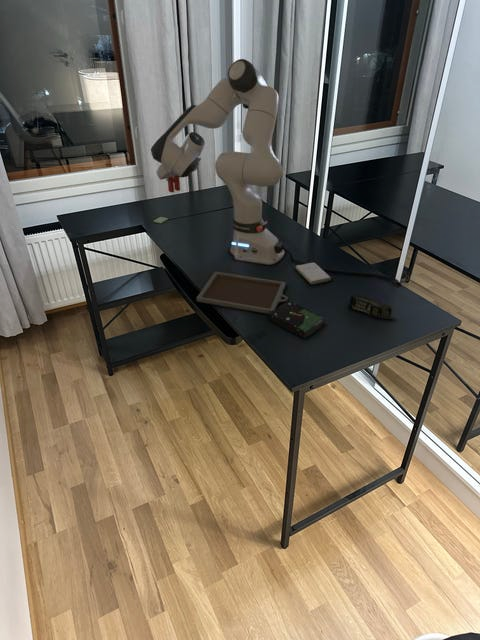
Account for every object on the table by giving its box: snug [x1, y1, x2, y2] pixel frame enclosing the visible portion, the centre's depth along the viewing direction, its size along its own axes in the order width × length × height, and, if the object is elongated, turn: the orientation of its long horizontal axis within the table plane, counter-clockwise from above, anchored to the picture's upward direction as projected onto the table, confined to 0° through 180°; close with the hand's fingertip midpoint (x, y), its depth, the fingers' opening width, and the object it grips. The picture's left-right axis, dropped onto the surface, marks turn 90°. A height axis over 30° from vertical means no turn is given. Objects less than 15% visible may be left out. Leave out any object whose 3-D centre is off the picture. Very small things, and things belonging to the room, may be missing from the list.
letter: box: [167, 176, 181, 193], centre depth 199 cm, size 3×5×10 cm, turn 132°
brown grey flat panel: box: [195, 271, 289, 315], centre depth 152 cm, size 19×2×30 cm
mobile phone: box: [348, 294, 395, 320], centre depth 141 cm, size 5×3×15 cm
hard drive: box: [295, 262, 332, 285], centre depth 163 cm, size 2×8×12 cm
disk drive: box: [268, 300, 325, 339], centre depth 138 cm, size 10×3×15 cm
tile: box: [152, 216, 169, 224], centre depth 205 cm, size 5×6×1 cm
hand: (172, 177), depth 199 cm, fingers closed on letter, 5 cm apart
